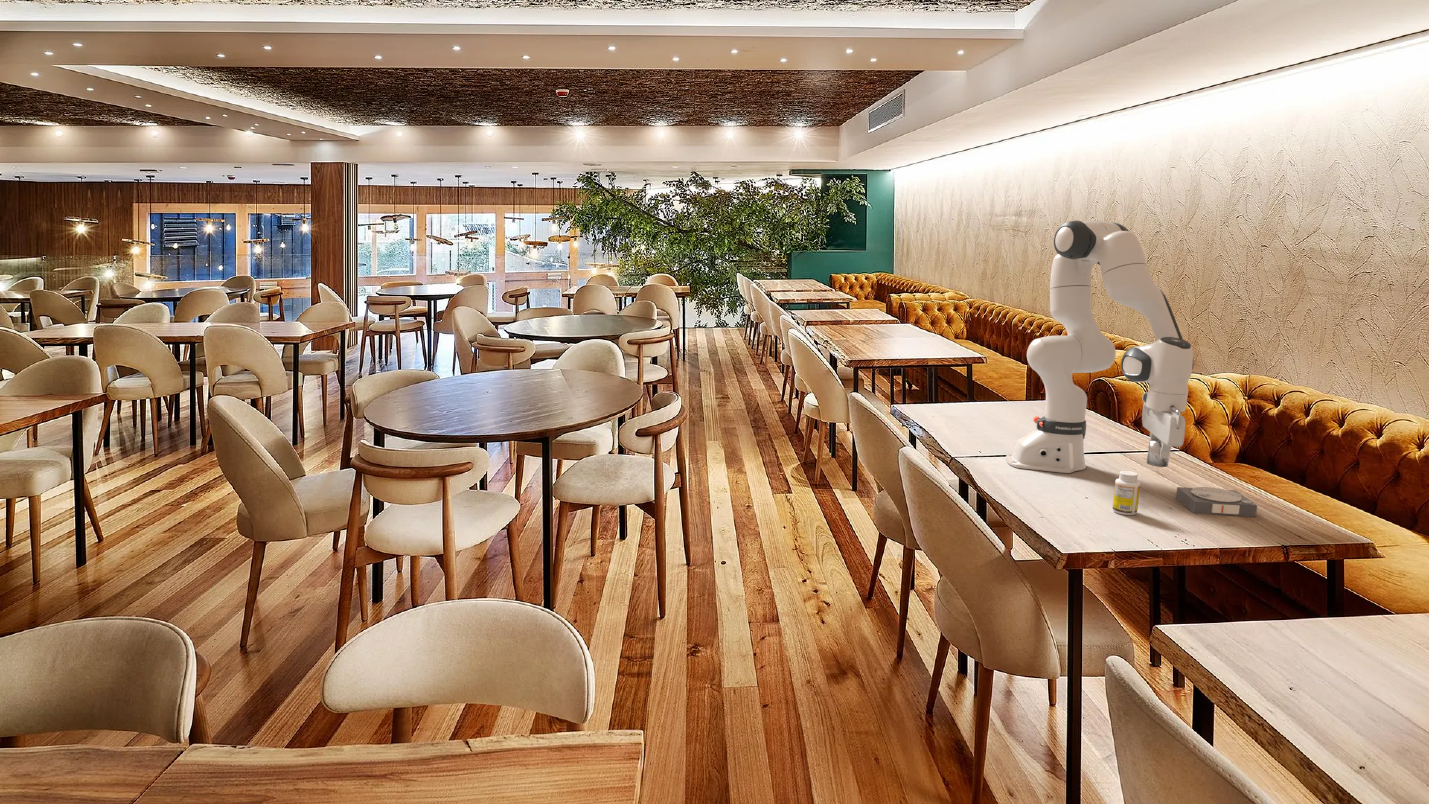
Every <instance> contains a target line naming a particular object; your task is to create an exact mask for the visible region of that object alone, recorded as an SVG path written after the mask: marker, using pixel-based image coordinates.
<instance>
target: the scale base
mask: <svg viewBox="0 0 1429 804" xmlns="http://www.w3.org/2000/svg"><path fill="white" fill-rule="evenodd" d="M1193 488H1194V487H1183V486H1181V487H1180V486H1177V488H1176V495H1175V499H1177V500H1178V502H1180V503H1182V505H1183V506H1185V507H1186V508H1187V509H1188V510H1190V511H1191V512H1192V513H1193V514H1206V515H1221V516H1236V517H1253V518H1256V515H1257V510H1258V509H1257V508H1258V505H1257V504H1256V503H1255V502H1254V501H1252V500H1251V499H1248V498H1247V497H1246V496H1245V495H1243V494H1241V493H1240V492H1238V491H1237V490H1235V489H1234V490H1233V489H1228V490H1229V491H1232V492H1235V493H1237V494H1239V495H1241V496H1242V500H1241V501H1240V502H1236V503H1222V502H1214V501H1209V500H1205V499H1201V498H1198V497H1196V496H1194V495H1192V494H1191V489H1193Z"/></svg>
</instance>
